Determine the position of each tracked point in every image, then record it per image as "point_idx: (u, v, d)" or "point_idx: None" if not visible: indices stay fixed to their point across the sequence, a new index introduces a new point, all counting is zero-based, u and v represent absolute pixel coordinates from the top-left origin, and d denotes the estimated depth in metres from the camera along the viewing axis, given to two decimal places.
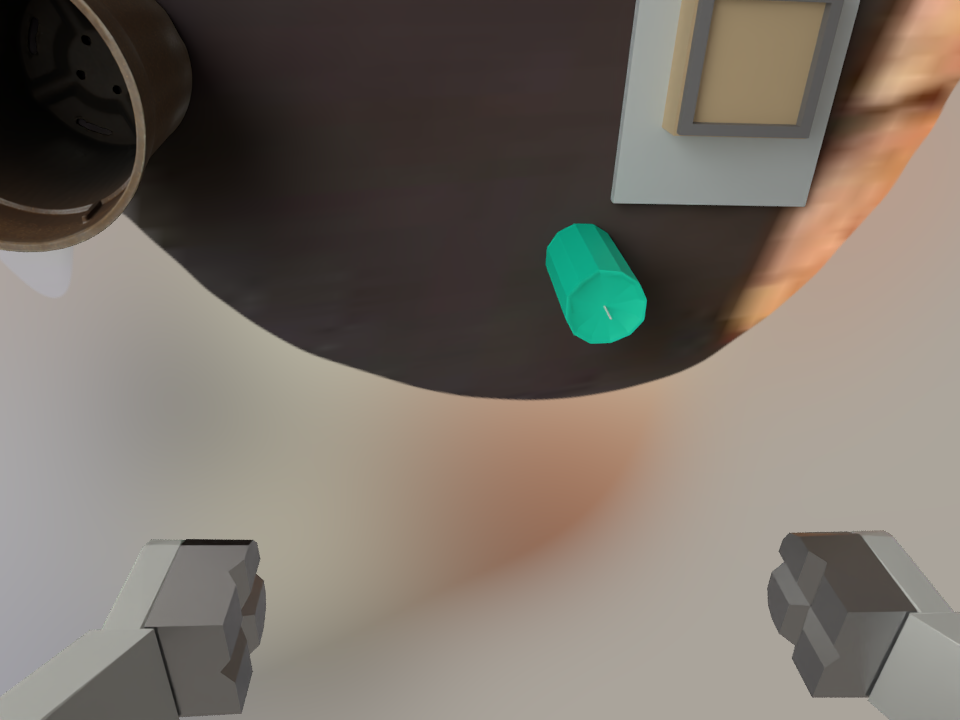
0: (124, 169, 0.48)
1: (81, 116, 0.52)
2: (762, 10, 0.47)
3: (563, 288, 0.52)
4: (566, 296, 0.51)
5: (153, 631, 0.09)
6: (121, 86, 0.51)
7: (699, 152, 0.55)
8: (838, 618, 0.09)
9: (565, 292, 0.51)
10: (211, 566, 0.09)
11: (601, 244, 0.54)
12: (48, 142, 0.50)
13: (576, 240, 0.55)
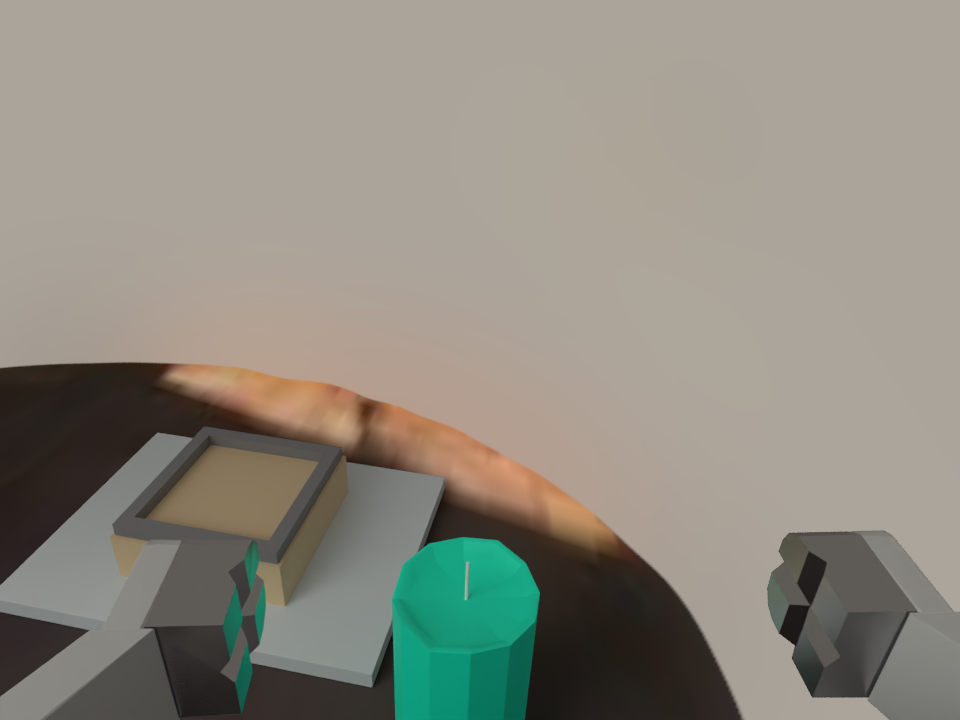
0: None
1: None
2: (183, 487, 0.43)
3: (430, 679, 0.27)
4: (430, 655, 0.26)
5: (153, 631, 0.09)
6: None
7: (338, 568, 0.41)
8: (838, 618, 0.09)
9: (429, 664, 0.26)
10: (211, 566, 0.09)
11: None
12: None
13: (397, 712, 0.31)
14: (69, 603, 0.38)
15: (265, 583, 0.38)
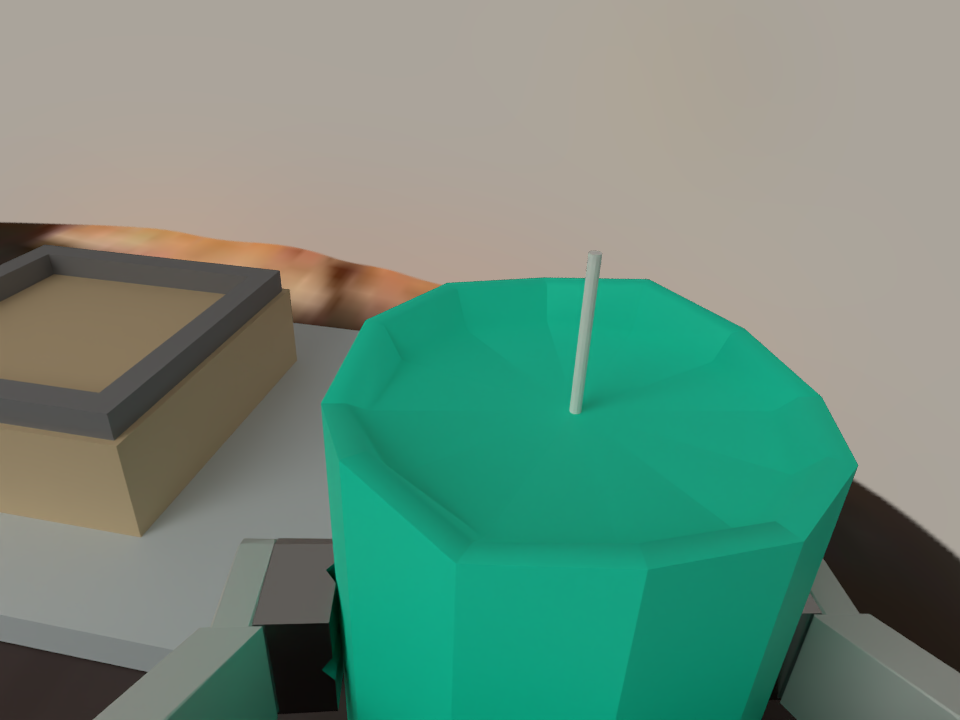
0: None
1: None
2: None
3: (454, 684, 0.07)
4: (460, 581, 0.06)
5: (261, 629, 0.09)
6: None
7: (261, 471, 0.21)
8: None
9: (452, 623, 0.06)
10: (308, 565, 0.10)
11: None
12: None
13: None
14: None
15: (94, 484, 0.18)
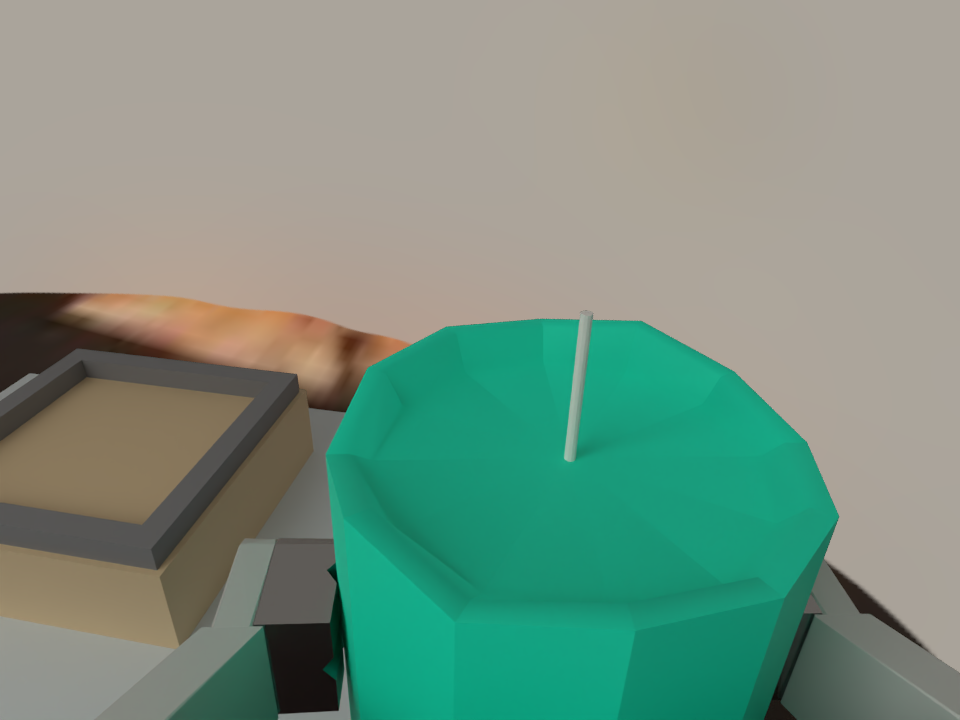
0: None
1: None
2: (21, 440, 0.25)
3: None
4: (459, 638, 0.06)
5: (262, 629, 0.09)
6: None
7: None
8: None
9: (452, 675, 0.07)
10: (309, 565, 0.10)
11: None
12: None
13: None
14: None
15: (138, 606, 0.20)
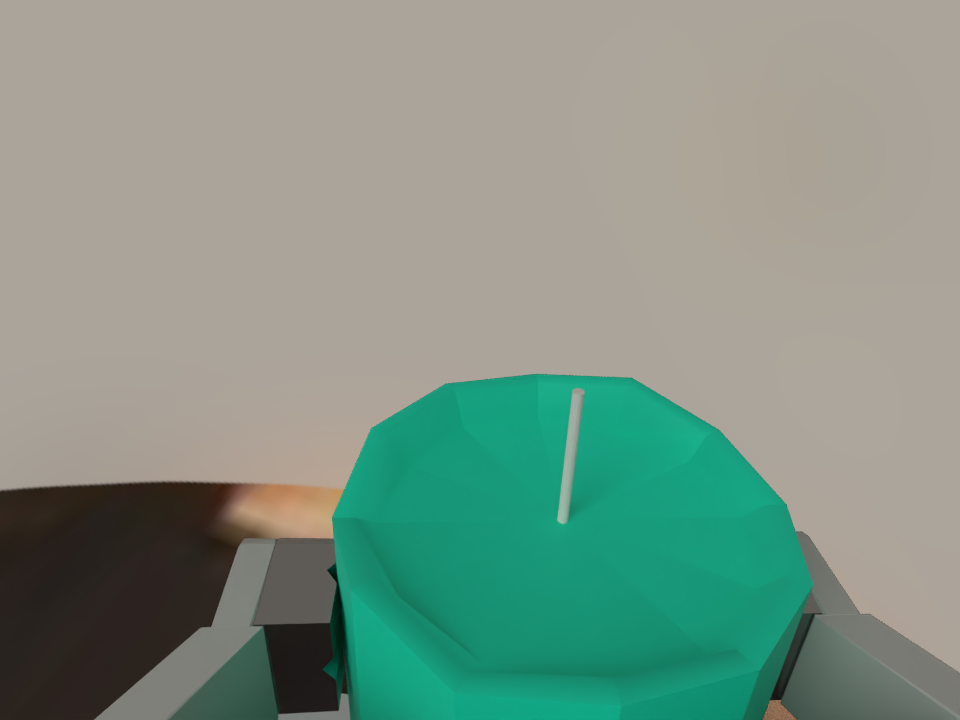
0: None
1: None
2: None
3: None
4: (459, 707, 0.07)
5: (262, 629, 0.09)
6: None
7: None
8: None
9: None
10: (309, 565, 0.10)
11: None
12: None
13: None
14: None
15: None
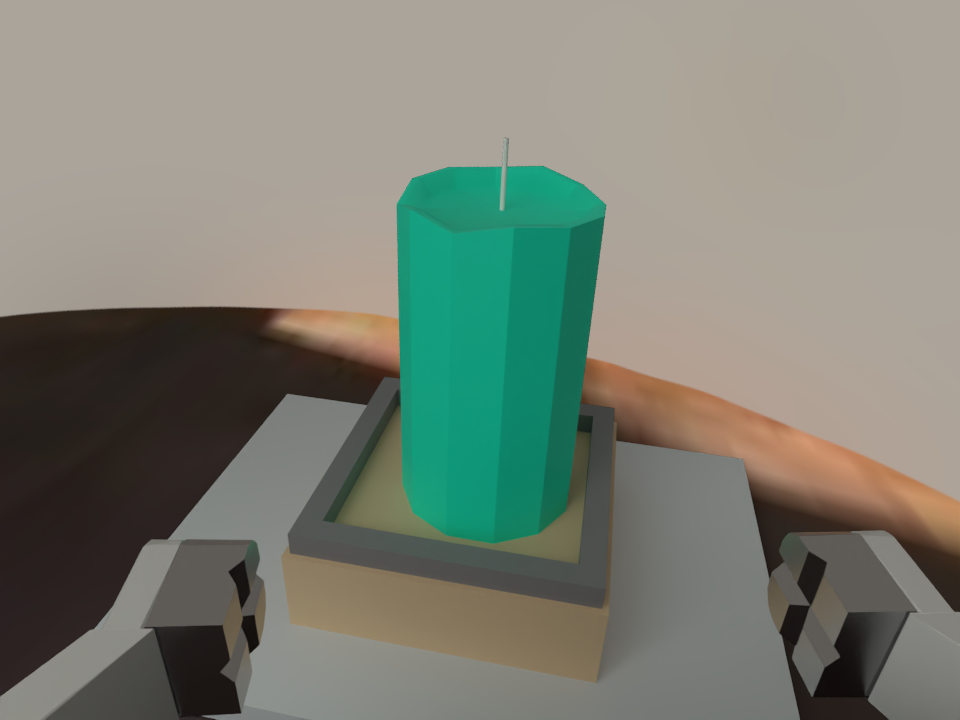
0: None
1: None
2: (380, 471, 0.25)
3: (451, 292, 0.18)
4: (453, 242, 0.18)
5: (153, 631, 0.09)
6: None
7: (654, 609, 0.24)
8: (838, 618, 0.09)
9: (451, 262, 0.18)
10: (211, 566, 0.09)
11: None
12: None
13: (404, 410, 0.23)
14: None
15: (570, 642, 0.21)
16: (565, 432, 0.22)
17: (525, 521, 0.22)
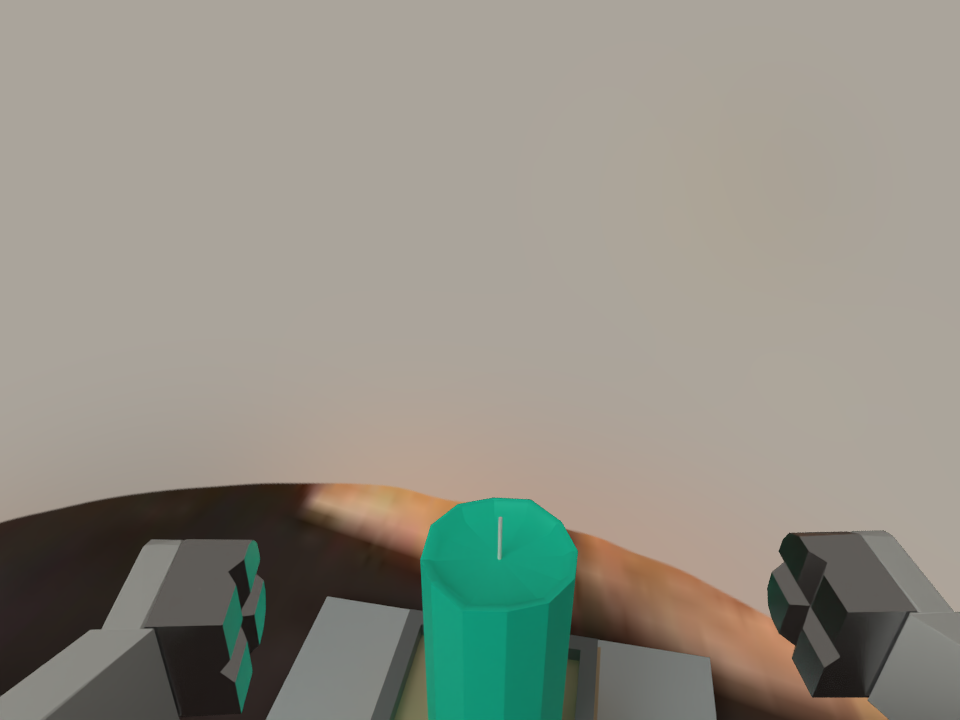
0: None
1: None
2: (410, 713, 0.32)
3: (463, 642, 0.25)
4: (464, 615, 0.24)
5: (153, 631, 0.09)
6: None
7: None
8: (838, 618, 0.09)
9: (462, 626, 0.25)
10: (211, 566, 0.09)
11: None
12: None
13: (429, 686, 0.29)
14: None
15: None
16: (554, 709, 0.28)
17: None
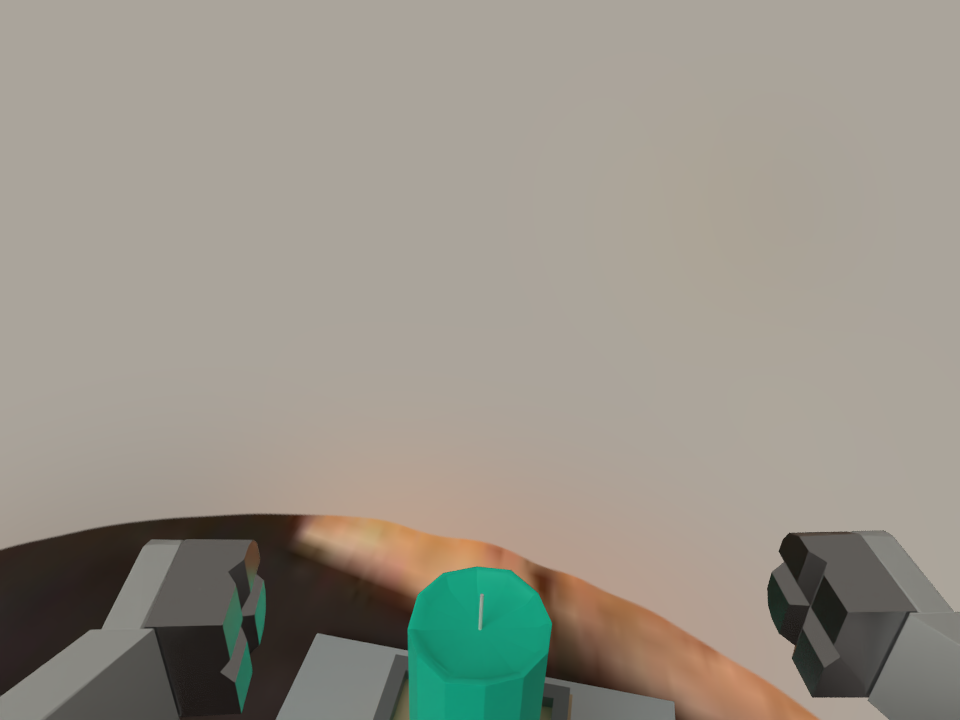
0: None
1: None
2: None
3: (445, 709, 0.27)
4: (446, 686, 0.27)
5: (153, 631, 0.09)
6: None
7: None
8: (838, 618, 0.09)
9: (444, 695, 0.27)
10: (211, 566, 0.09)
11: None
12: None
13: None
14: None
15: None
16: None
17: None
